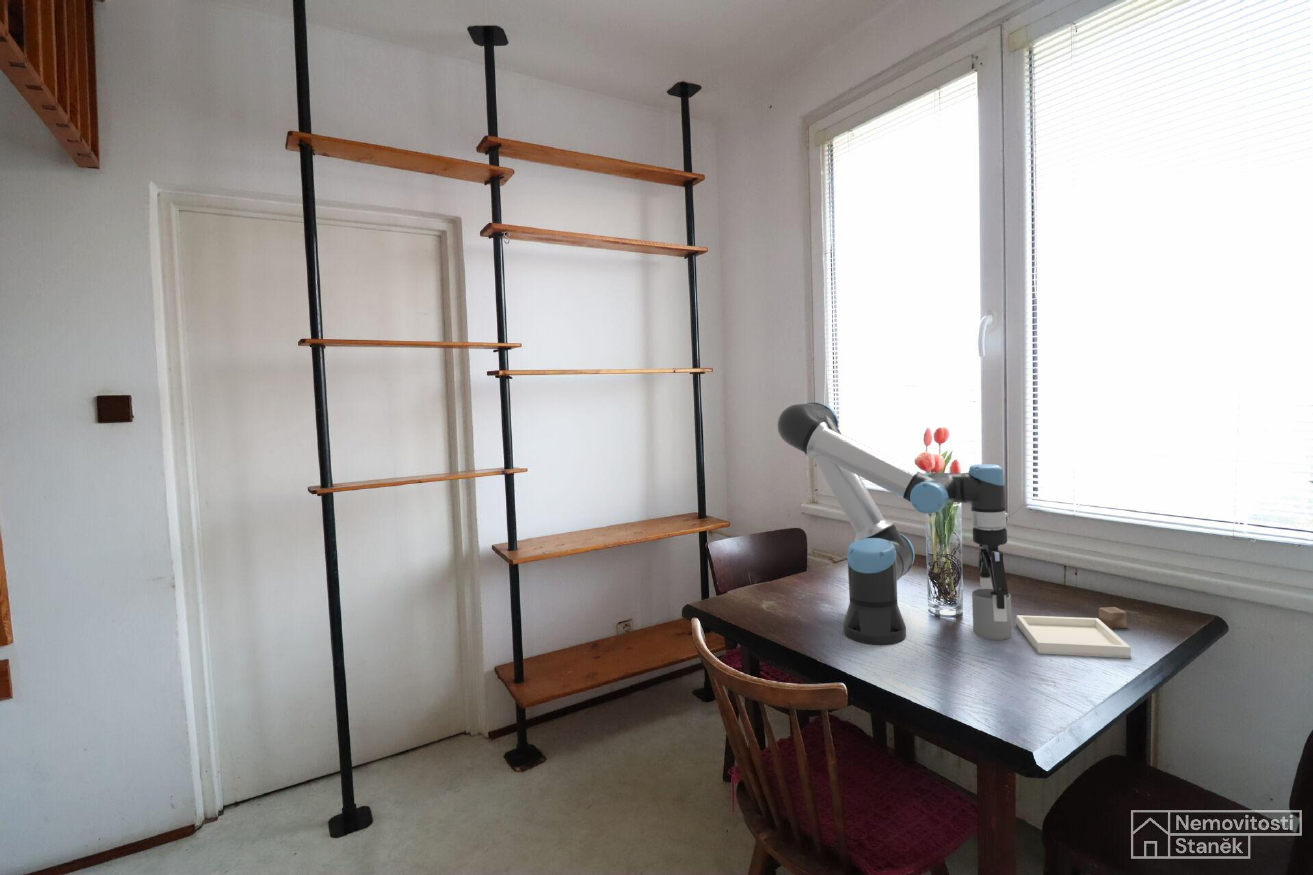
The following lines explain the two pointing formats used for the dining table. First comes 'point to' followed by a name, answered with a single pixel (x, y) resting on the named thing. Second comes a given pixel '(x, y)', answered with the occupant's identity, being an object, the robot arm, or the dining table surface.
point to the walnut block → (1113, 617)
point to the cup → (989, 616)
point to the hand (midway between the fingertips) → (993, 611)
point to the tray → (1072, 636)
